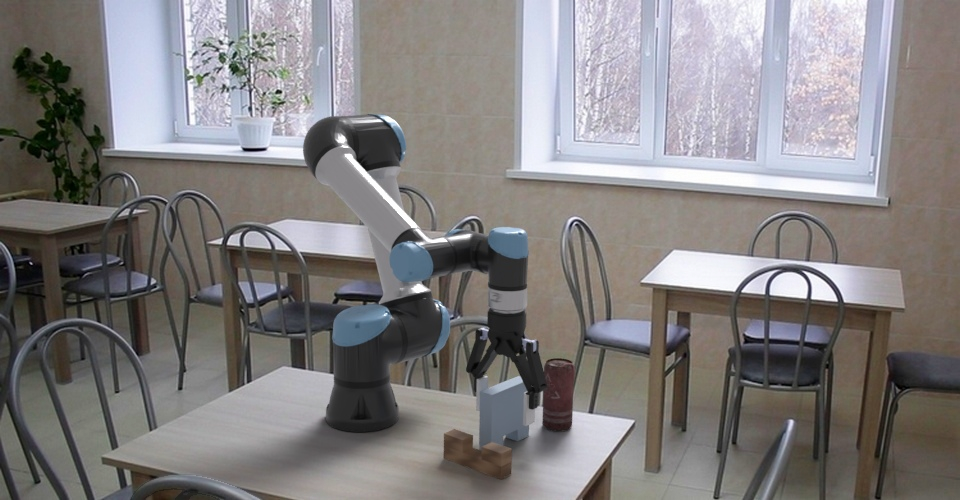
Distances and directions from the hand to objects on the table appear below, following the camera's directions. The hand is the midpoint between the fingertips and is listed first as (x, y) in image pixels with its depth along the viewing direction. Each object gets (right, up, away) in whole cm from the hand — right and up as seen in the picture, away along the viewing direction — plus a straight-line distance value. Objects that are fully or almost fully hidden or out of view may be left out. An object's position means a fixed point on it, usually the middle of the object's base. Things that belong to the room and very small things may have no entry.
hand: (504, 416), depth 193 cm
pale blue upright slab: (0, -5, +1) cm, 6 cm away
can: (+11, -4, +10) cm, 15 cm away
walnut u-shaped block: (-5, -8, -10) cm, 14 cm away
